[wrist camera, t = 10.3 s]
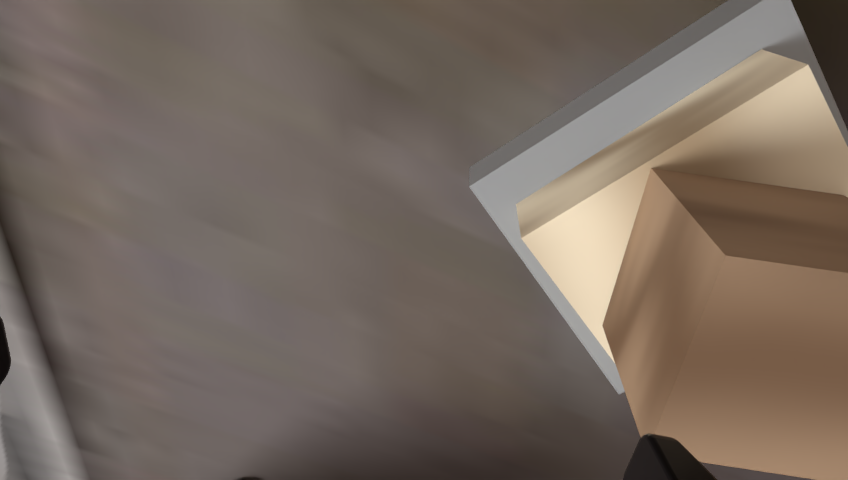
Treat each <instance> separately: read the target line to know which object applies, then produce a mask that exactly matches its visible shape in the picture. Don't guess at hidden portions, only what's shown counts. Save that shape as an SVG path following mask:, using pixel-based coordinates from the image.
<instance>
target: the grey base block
mask: <svg viewBox="0 0 848 480" xmlns="http://www.w3.org/2000/svg"><path fill="white" fill-rule="evenodd" d="M761 49H762V50H765V51H768V52H771V53H775V54H778V55H781V56H784V57H787V58H790V59H793V60H796V61H799V62H802V63H805V64H808V65H809V67H810V69H811V71H812V73H813V75H814V78H815V80H816V82H817V84H818V86H819V88H820V90H821V92H822V94H823V96H824V98H825V101H826V103H827V105H828V107H829V109H830V111H831V113H832V115H833V117H834V119H835V121H836V124H837V126H838V128H839V130H840V132H841V134H842V136H843V138H844V140H845V142H846V144H847V147H848V130H847V128H846V126H845V123H844V121H843V119H842V116H841V114H840V112H839V110H838V107H837V105H836V103H835V100H834V98H833V96H832V93H831V91H830V89H829V87H828V84H827V82H826V80H825V77H824V75H823V73H822V71H821V68H820V66H819V64H818V61H817V59H816V57H815V54H814V52H813V50H812V48H811V45H810V43H809V41H808V38H807V36H806V34H805V32H804V29H803V27H802V25H801V22H800V20H799V18H798V15H797V13H796V11H795V9H794V6H793V4H792V2H791V0H728V1H727V2H725V3H723V4H722V5H720V6H719V7H717V8H716V9H714V10H713V11H711V12H710V13H708V14H706V15H705V16H703V17H702V18H700V19H699V20H697V21H696V22H694V23H693V24H691V25H689V26H688V27H686V28H685V29H683V30H682V31H680V32H679V33H677V34H675V35H674V36H672V37H671V38H669V39H668V40H666V41H665V42H663V43H662V44H660V45H658V46H657V47H655V48H654V49H652V50H651V51H649V52H648V53H646V54H644V55H643V56H641V57H640V58H638V59H637V60H635V61H634V62H632V63H631V64H629V65H627V66H626V67H624V68H623V69H621V70H620V71H618V72H617V73H615V74H614V75H612V76H610V77H609V78H607V79H606V80H604V81H603V82H601V83H600V84H598V85H596V86H595V87H593V88H592V89H590V90H589V91H587V92H586V93H584V94H583V95H581V96H579V97H578V98H576V99H575V100H573V101H572V102H570V103H569V104H567V105H566V106H564V107H562V108H561V109H559V110H558V111H556V112H555V113H553V114H552V115H550V116H548V117H547V118H545V119H544V120H542V121H541V122H539V123H538V124H536V125H535V126H533V127H531V128H530V129H528V130H527V131H525V132H524V133H522V134H521V135H519V136H518V137H516V138H514V139H513V140H511V141H510V142H508V143H507V144H505V145H504V146H502V147H500V148H499V149H497V150H496V151H494V152H493V153H491V154H490V155H488V156H487V157H485V158H483V159H482V160H480V161H479V162H477V163H476V164H474V165H473V166H471V167H470V177H469V187H470V188H471V190H472V191H473V193H474V194H475V195H476V197H477V198H478V200H479V201H480V202H481V204H482V205H483V206H484V208H485V209H486V211H487V212H488V213H489V215H490V216H491V218H492V219H493V220H494V222H495V223H496V225H497V226H498V227H499V229H500V230H501V231H502V233H503V234H504V236H505V237H506V238H507V240H508V241H509V243H510V244H511V245H512V247H513V248H514V250H515V251H516V252H517V254H518V255H519V256H520V258H521V259H522V261H523V262H524V263H525V265H526V266H527V268H528V269H529V270H530V272H531V273H532V275H533V276H534V277H535V279H536V280H537V281H538V283H539V284H540V286H541V287H542V288H543V290H544V291H545V293H546V294H547V295H548V297H549V298H550V300H551V301H552V302H553V304H554V305H555V306H556V308H557V309H558V311H559V312H560V313H561V315H562V316H563V318H564V319H565V320H566V322H567V323H568V325H569V326H570V327H571V329H572V330H573V331H574V333H575V334H576V336H577V337H578V338H579V340H580V341H581V343H582V344H583V345H584V347H585V348H586V350H587V351H588V352H589V354H590V355H591V356H592V358H593V359H594V361H595V362H596V363H597V365H598V366H599V368H600V369H601V370H602V372H603V373H604V375H605V376H606V377H607V379H608V380H609V381H610V383H611V384H612V386H613V387H614V388H615V390H616V391H617V393H618V394H621V393H623V392H625V390H624V387H623V384H622V382H621V379H620V376H619V373H618V370H617V367H616V364H615V363H614V362H613V360H612V359H611V358H610V356H609V355H608V354H607V352H606V351H605V350H604V348H603V347H602V346H601V344H600V343H599V342H598V340H597V339H596V338H595V336H594V335H593V334H592V332H591V331H590V330H589V328H588V327H587V326H586V324H585V323H584V322H583V320H582V319H581V318H580V316H579V315H578V314H577V312H576V311H575V310H574V308H573V307H572V306H571V304H570V303H569V302H568V300H567V299H566V298H565V296H564V295H563V294H562V292H561V291H560V290H559V288H558V287H557V286H556V284H555V283H554V281H553V280H552V279H551V277H550V276H549V275H548V273H547V272H546V271H545V269H544V268H543V267H542V265H541V264H540V263H539V261H538V260H537V259H536V257H535V256H534V255H533V253H532V252H531V251H530V249H529V248H528V247H527V245H526V244H525V243H524V241H523V240H522V239H521V234H520V228H519V221H518V215H517V208H516V204H517V203H519V202H520V201H522V200H523V199H525V198H527V197H528V196H530V195H531V194H533V193H534V192H536V191H538V190H539V189H541V188H542V187H544V186H545V185H547V184H549V183H550V182H552V181H553V180H555V179H557V178H558V177H560V176H561V175H563V174H564V173H566V172H568V171H569V170H571V169H572V168H574V167H576V166H577V165H579V164H580V163H582V162H583V161H585V160H587V159H588V158H590V157H591V156H593V155H595V154H596V153H598V152H599V151H601V150H602V149H604V148H606V147H607V146H609V145H610V144H612V143H614V142H615V141H617V140H618V139H620V138H621V137H623V136H625V135H626V134H628V133H629V132H631V131H633V130H634V129H636V128H637V127H639V126H640V125H642V124H644V123H645V122H647V121H648V120H650V119H652V118H653V117H655V116H656V115H658V114H659V113H661V112H663V111H664V110H666V109H667V108H669V107H671V106H672V105H674V104H675V103H677V102H678V101H680V100H682V99H683V98H685V97H686V96H688V95H690V94H691V93H693V92H694V91H696V90H698V89H699V88H701V87H702V86H704V85H705V84H707V83H709V82H710V81H712V80H713V79H715V78H717V77H718V76H720V75H721V74H723V73H724V72H726V71H728V70H729V69H731V68H732V67H734V66H736V65H737V64H739V63H740V62H742V61H743V60H745V59H747V58H748V57H750V56H751V55H753V54H755V53H756V52H758V51H759V50H761Z"/></svg>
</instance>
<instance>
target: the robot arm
mask: <svg viewBox="0 0 848 480" xmlns="http://www.w3.org/2000/svg"><path fill="white" fill-rule="evenodd" d="M10 365H11V357H10V352H9V347H8V342H7V338H6V333H5V328H4V323H3V320H2V318H1V317H0V385H1V383H2V382H3V380H4V379H5V377H6V376H7V374H8V371H9V369H10ZM623 480H717V479H716V478H715V477H714V476H713V475H712V474H711V473H710V472H709V471H708V470H707V469H706V468H705V467H704V466H703V465H702V464H701V463H700V462H699V461H698V460H697V459H696V458H695V457H694V456H693V455H692V454H691V453H690V452H689V451H688V450H687V449H686V448H685V447H684V446H683V445H682V444H681V443H680V442H679V441H678V440H676V439H674V438H672V437H667V436H662V435H656V434H651V433H648V434H645V435H643V436H642V437H641V439H640V440H639V442H638V444H637V447H636V449H635V451H634V453H633V455H632V458H631V460H630V462H629V464H628V467H627V469H626V471H625V474H624V477H623Z"/></svg>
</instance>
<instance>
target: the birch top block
mask: <svg viewBox="0 0 848 480" xmlns="http://www.w3.org/2000/svg"><path fill="white" fill-rule="evenodd" d="M651 168H654V169H661V170H668V171H676V172H683V173H690V174H697V175H704V176H711V177H718V178H726V179H733V180H740V181H747V182H754V183H761V184H768V185H776V186H783V187H790V188H797V189H804V190H811V191H818V192H826V193H833V194H840V195H844V196H846V197H848V147H847V144H846V142H845V140H844V138H843V136H842V134H841V132H840V130H839V128H838V126H837V124H836V121H835V119H834V117H833V115H832V113H831V111H830V109H829V107H828V105H827V103H826V101H825V98H824V96H823V94H822V92H821V90H820V88H819V86H818V84H817V82H816V80H815V78H814V75H813V73H812V71H811V69H810V67H809V65H808V64H805V63H802V62H799V61H796V60H793V59H790V58H787V57H784V56H781V55H778V54H775V53H771V52H768V51H765V50H762V49H761V50H759V51H758V52H756V53H755V54H753V55H751V56H750V57H748V58H747V59H745V60H743V61H742V62H740V63H739V64H737V65H736V66H734V67H732V68H731V69H729V70H728V71H726V72H724V73H723V74H721V75H720V76H718V77H717V78H715V79H713V80H712V81H710V82H709V83H707V84H705V85H704V86H702V87H701V88H699V89H698V90H696V91H694V92H693V93H691V94H690V95H688V96H686V97H685V98H683V99H682V100H680V101H678V102H677V103H675V104H674V105H672V106H671V107H669V108H667V109H666V110H664V111H663V112H661V113H659V114H658V115H656V116H655V117H653V118H652V119H650V120H648V121H647V122H645V123H644V124H642V125H640V126H639V127H637V128H636V129H634V130H633V131H631V132H629V133H628V134H626V135H625V136H623V137H621V138H620V139H618V140H617V141H615V142H614V143H612V144H610V145H609V146H607V147H606V148H604V149H602V150H601V151H599V152H598V153H596V154H595V155H593V156H591V157H590V158H588V159H587V160H585V161H583V162H582V163H580V164H579V165H577V166H576V167H574V168H572V169H571V170H569V171H568V172H566V173H564V174H563V175H561V176H560V177H558V178H557V179H555V180H553V181H552V182H550V183H549V184H547V185H545V186H544V187H542V188H541V189H539V190H538V191H536V192H534V193H533V194H531V195H530V196H528V197H527V198H525V199H523V200H522V201H520V202H519V203H517V204H516V208H517V215H518V221H519V228H520V234H521V239H522V240H523V241H524V243H525V244H526V245H527V247H528V248H529V249H530V251H531V252H532V253H533V255H534V256H535V257H536V259H537V260H538V261H539V263H540V264H541V265H542V267H543V268H544V269H545V271H546V272H547V273H548V275H549V276H550V277H551V279H552V280H553V281H554V283H555V284H556V286H557V287H558V288H559V290H560V291H561V292H562V294H563V295H564V296H565V298H566V299H567V300H568V302H569V303H570V304H571V306H572V307H573V308H574V310H575V311H576V312H577V314H578V315H579V316H580V318H581V319H582V320H583V322H584V323H585V324H586V326H587V327H588V328H589V330H590V331H591V332H592V334H593V335H594V336H595V338H596V339H597V340H598V342H599V343H600V344H601V346H602V347H603V348H604V350H605V351H606V352H607V354H608V355H609V356H610V358H611V359H612V360H613V362H614V363H615V361H614V358H613V355H612V352H611V350H610V347H609V344H608V341H607V338H606V335H605V332H604V329H603V326H602V325H603V322H604V318H605V315H606V312H607V309H608V305H609V302H610V299H611V296H612V293H613V289H614V286H615V283H616V280H617V276H618V273H619V270H620V267H621V263H622V260H623V257H624V254H625V251H626V247H627V244H628V241H629V238H630V234H631V231H632V228H633V225H634V222H635V218H636V215H637V212H638V209H639V205H640V202H641V199H642V196H643V193H644V189H645V186H646V183H647V180H648V176H649V173H650V170H651Z"/></svg>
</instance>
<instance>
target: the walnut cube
mask: <svg viewBox="0 0 848 480" xmlns="http://www.w3.org/2000/svg"><path fill="white" fill-rule="evenodd" d="M602 326H603V329H604V332H605V335H606V338H607V341H608V344H609V347H610V350H611V352H612V355H613V358H614V361H615V364H616V367H617V370H618V373H619V376H620V379H621V382H622V384H623V387H624V390H625V393H626V396H627V399H628V402H629V405H630V408H631V411H632V414H633V416H634V419H635V422H636V425H637V428H638V431H639V434H640V437H642V436H643V435H645V434H648V433H651V434H656V435H662V436H667V437H672V438H674V439H676V440H678V441H679V442H680V443H681V444H682V445H683V446H684V447H685V448H686V449H687V450H688V451H689V452H690V453H691V454H692V455H693V456H694V457H695V458H696V459H697V460H698V461H699V462H703V463H710V464H717V465H723V466H730V467H736V468H743V469H749V470H756V471H762V472H769V473H776V474H782V475H789V476H795V477H802V478H808V479H815V480H848V197H846V196H844V195H840V194H833V193H826V192H818V191H811V190H804V189H797V188H790V187H783V186H776V185H768V184H761V183H754V182H747V181H740V180H733V179H726V178H718V177H711V176H704V175H697V174H690V173H683V172H676V171H668V170H661V169H654V168H651V170H650V173H649V176H648V180H647V183H646V186H645V189H644V193H643V196H642V199H641V202H640V205H639V209H638V212H637V215H636V218H635V222H634V225H633V228H632V231H631V234H630V238H629V241H628V244H627V247H626V251H625V254H624V257H623V260H622V263H621V267H620V270H619V273H618V276H617V280H616V283H615V286H614V289H613V293H612V296H611V299H610V302H609V305H608V309H607V312H606V315H605V318H604V322H603V325H602Z"/></svg>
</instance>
